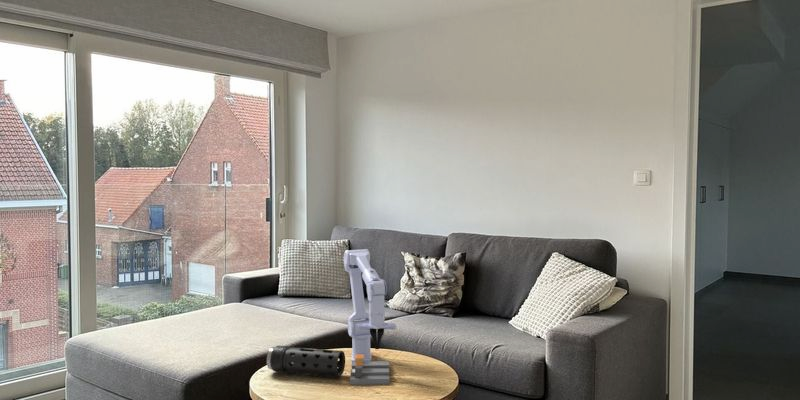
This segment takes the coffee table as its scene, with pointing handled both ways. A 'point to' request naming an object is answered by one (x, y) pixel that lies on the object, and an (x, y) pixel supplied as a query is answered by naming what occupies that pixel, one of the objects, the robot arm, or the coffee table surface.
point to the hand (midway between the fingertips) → (377, 348)
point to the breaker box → (370, 373)
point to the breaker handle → (359, 359)
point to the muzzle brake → (306, 361)
